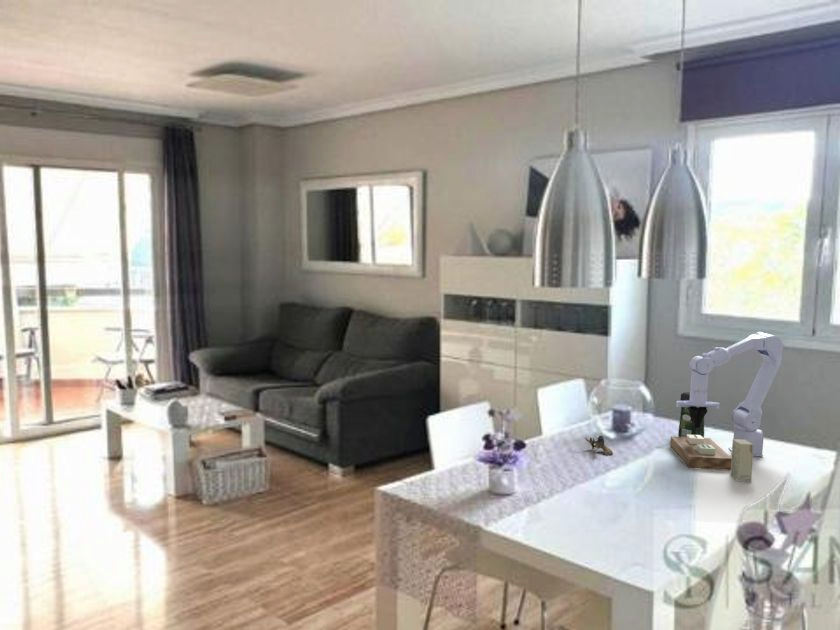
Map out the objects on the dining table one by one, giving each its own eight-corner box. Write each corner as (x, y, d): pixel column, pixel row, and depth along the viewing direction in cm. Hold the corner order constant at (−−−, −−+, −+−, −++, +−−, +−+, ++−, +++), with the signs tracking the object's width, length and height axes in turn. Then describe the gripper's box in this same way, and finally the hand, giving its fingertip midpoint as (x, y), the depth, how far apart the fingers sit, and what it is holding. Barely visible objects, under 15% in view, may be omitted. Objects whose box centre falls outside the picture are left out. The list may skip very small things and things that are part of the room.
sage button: (710, 454, 244) (711, 444, 243) (714, 458, 239) (715, 448, 238) (695, 453, 244) (696, 443, 244) (700, 457, 239) (700, 447, 239)
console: (709, 448, 259) (709, 438, 258) (731, 470, 235) (732, 458, 235) (670, 446, 260) (670, 436, 260) (688, 468, 236) (689, 456, 236)
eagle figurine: (581, 448, 252) (601, 450, 245) (587, 429, 255) (607, 431, 247) (594, 457, 256) (614, 459, 249) (600, 438, 258) (620, 440, 251)
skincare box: (751, 482, 224) (754, 444, 223) (738, 481, 224) (740, 444, 223) (743, 475, 230) (745, 438, 229) (729, 475, 230) (732, 438, 229)
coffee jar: (688, 434, 278) (692, 387, 276) (707, 439, 272) (710, 391, 270) (674, 437, 272) (677, 390, 270) (692, 442, 266) (695, 394, 264)
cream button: (699, 443, 255) (700, 434, 255) (703, 447, 251) (704, 438, 250) (686, 443, 256) (686, 433, 255) (689, 447, 251) (690, 437, 251)
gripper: (680, 391, 248) (678, 429, 249) (723, 393, 246) (720, 431, 248) (675, 387, 255) (673, 424, 256) (717, 389, 253) (714, 426, 255)
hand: (696, 427), depth 252 cm, fingers closed
